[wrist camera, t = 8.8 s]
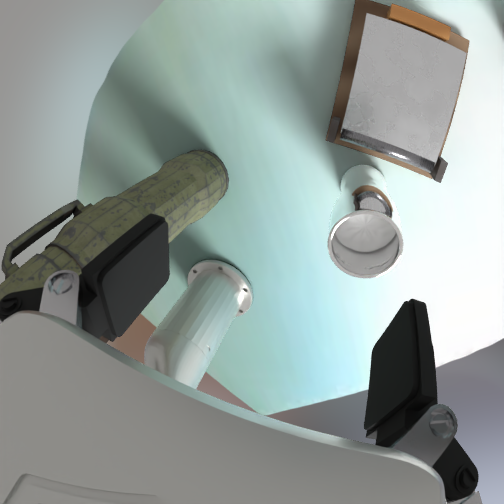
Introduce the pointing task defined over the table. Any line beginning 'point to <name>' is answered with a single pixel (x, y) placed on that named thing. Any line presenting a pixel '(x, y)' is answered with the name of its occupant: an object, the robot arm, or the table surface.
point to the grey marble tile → (402, 92)
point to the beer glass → (364, 225)
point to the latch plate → (350, 62)
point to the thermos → (118, 219)
